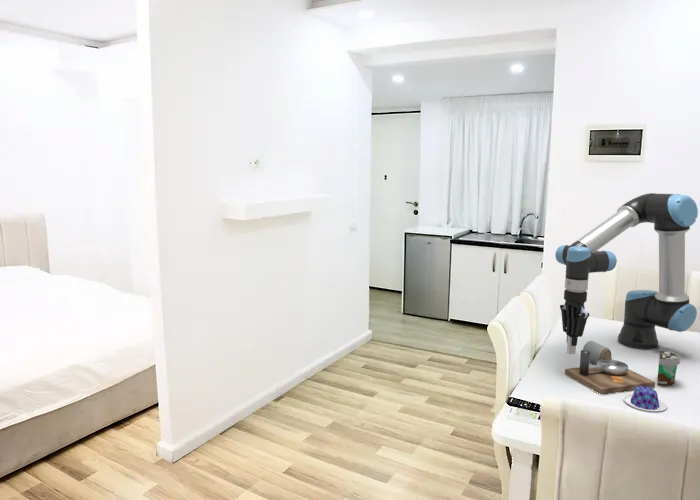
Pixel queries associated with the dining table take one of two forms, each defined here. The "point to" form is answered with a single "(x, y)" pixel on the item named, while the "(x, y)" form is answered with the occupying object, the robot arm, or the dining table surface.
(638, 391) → the pudding
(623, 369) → the steel serving spoon
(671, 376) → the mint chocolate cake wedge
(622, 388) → the wooden cutting board
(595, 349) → the ceramic mug
